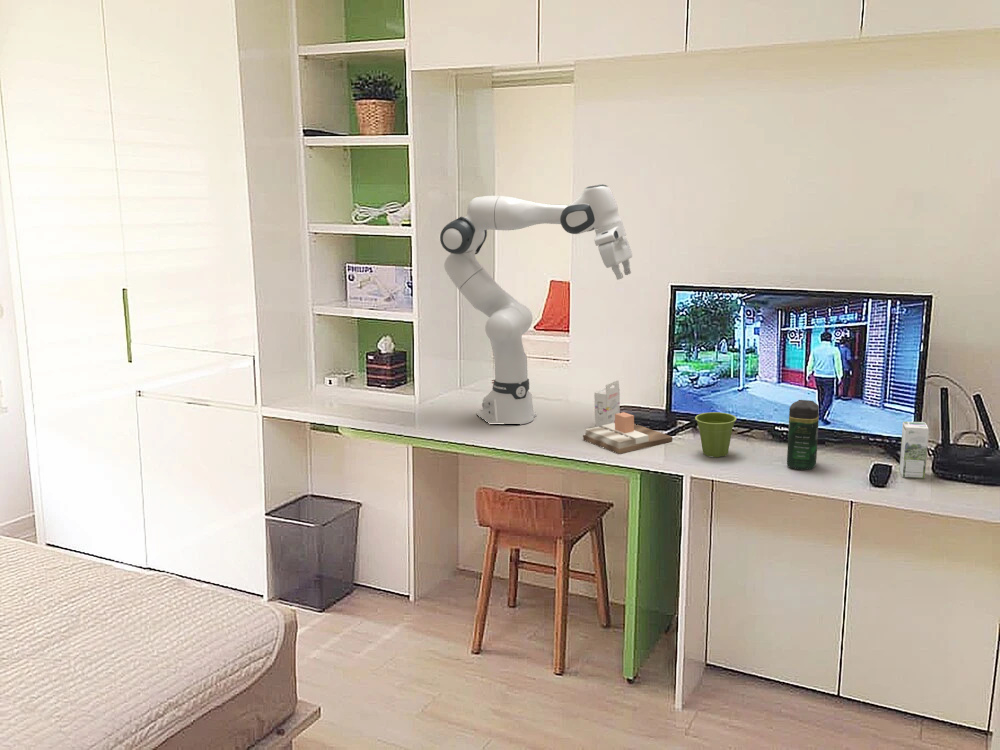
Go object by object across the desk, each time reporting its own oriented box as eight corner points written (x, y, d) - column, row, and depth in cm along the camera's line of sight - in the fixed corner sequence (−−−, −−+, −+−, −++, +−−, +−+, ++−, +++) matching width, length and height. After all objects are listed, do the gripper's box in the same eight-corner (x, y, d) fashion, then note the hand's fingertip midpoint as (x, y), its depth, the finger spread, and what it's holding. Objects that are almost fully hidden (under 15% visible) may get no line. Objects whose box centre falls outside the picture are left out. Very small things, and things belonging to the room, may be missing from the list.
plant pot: (692, 448, 284) (692, 412, 281) (731, 447, 283) (732, 411, 280) (697, 460, 272) (698, 423, 270) (739, 460, 272) (740, 422, 269)
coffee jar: (814, 472, 259) (817, 407, 255) (784, 469, 263) (787, 405, 258) (818, 461, 268) (821, 398, 264) (789, 458, 271) (791, 396, 267)
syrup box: (921, 472, 257) (925, 421, 253) (925, 479, 251) (929, 427, 248) (899, 471, 258) (902, 420, 255) (902, 478, 253) (905, 426, 249)
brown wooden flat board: (583, 439, 296) (583, 429, 295) (635, 428, 306) (635, 417, 305) (619, 454, 281) (618, 442, 280) (672, 441, 291) (672, 430, 290)
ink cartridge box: (607, 420, 316) (607, 378, 313) (620, 422, 313) (620, 379, 310) (594, 426, 310) (593, 383, 306) (607, 428, 307) (606, 385, 303)
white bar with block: (601, 431, 298) (601, 410, 297) (613, 428, 301) (613, 407, 299) (635, 444, 284) (635, 422, 282) (648, 441, 287) (648, 419, 285)
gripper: (611, 233, 304) (623, 274, 306) (592, 241, 286) (606, 284, 288) (629, 228, 302) (641, 269, 303) (611, 235, 283) (625, 278, 285)
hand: (624, 276), depth 295 cm, fingers open, 8 cm apart
